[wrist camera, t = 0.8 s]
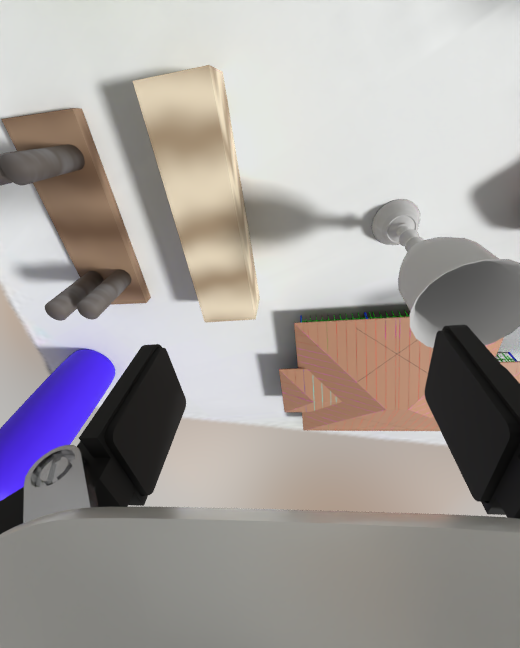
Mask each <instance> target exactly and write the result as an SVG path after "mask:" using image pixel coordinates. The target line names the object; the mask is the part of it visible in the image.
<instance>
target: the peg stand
mask: <svg viewBox="0 0 520 648" xmlns="http://www.w3.org/2000/svg"><path fill="white" fill-rule="evenodd" d="M1 120H2V122H3V124H4V126H5V128H6V130H7V132H8V134H9V136H10V138H11V140H12V142H13V144H14V146H15V148H16V150H17V151H16V152H9V153H2V154H0V185H4V184H8V183H12V182H14V183H15V184H18V185H26V184H30V183H33V184H34V186H35V188H36V190H37V192H38V194H39V196H40V198H41V200H42V202H43V204H44V206H45V208H46V210H47V212H48V214H49V216H50V218H51V220H52V222H53V224H54V226H55V228H56V230H57V232H58V234H59V236H60V238H61V240H62V242H63V244H64V246H65V248H66V250H67V252H68V254H69V256H70V258H71V260H72V262H73V264H74V266H75V268H76V270H77V272H78V274H79V276H80V278H79V279H78V280H77V281H76V282H74V283H73V284H72V285H70V286H69V287H68V288H66V289H65V290H64V291H63V292H61V293H60V294H59V295H57V296H56V297H55V298H54V299H52V300H51V301H50V302H48V303H47V304H46V305H45V310H46V312H47V314H48V315H49V316H50V317H52V318H54V319H56V320H65V319H66V318H67V317H68V316H69V315H70V314H71V313H72V312H74V311H75V310H76V309H78V311H79V313H80V314H81V315H82V316H84V317H86V318H88V319H96V318H97V317H98V316H99V315H100V314H101V313H102V312H103V311H104V310H105V309H106V308H107V307H108V306H109V305H110V304H132V303H147V302H148V300H149V299H150V298H151V297H150V294H149V291H148V288H147V286H146V283H145V280H144V278H143V275H142V272H141V269H140V267H139V264H138V261H137V258H136V256H135V253H134V250H133V247H132V245H131V242H130V239H129V237H128V234H127V231H126V228H125V226H124V223H123V220H122V217H121V215H120V212H119V209H118V206H117V204H116V201H115V198H114V196H113V193H112V190H111V187H110V185H109V182H108V179H107V176H106V174H105V171H104V168H103V165H102V163H101V160H100V157H99V155H98V152H97V149H96V146H95V144H94V141H93V138H92V135H91V133H90V130H89V127H88V124H87V122H86V119H85V116H84V114H83V111H82V109H79V108H72V109H66V110H59V111H52V112H46V113H39V114H33V115H26V116H19V117H13V118H6V119H1Z"/></svg>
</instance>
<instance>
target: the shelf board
mask: <svg viewBox="0 0 520 648" xmlns="http://www.w3.org/2000/svg"><path fill="white" fill-rule="evenodd" d="M133 84H134V88H135V91H136V94H137V98H138V101H139V104H140V108H141V111H142V114H143V118H144V121H145V124H146V128H147V131H148V134H149V138H150V141H151V144H152V148H153V151H154V154H155V158H156V161H157V164H158V168H159V171H160V174H161V178H162V181H163V184H164V188H165V191H166V194H167V198H168V201H169V204H170V208H171V211H172V214H173V218H174V221H175V224H176V228H177V231H178V234H179V238H180V241H181V244H182V248H183V251H184V254H185V258H186V261H187V264H188V268H189V271H190V274H191V278H192V281H193V284H194V288H195V291H196V294H197V298H198V301H199V304H200V308H201V311H202V314H203V318H204V321H205V322H219V321H235V320H252V319H256V314H257V309H258V304H259V299H260V297H259V290H258V284H257V278H256V272H255V266H254V260H253V254H252V248H251V242H250V236H249V230H248V224H247V217H246V211H245V205H244V199H243V193H242V187H241V181H240V175H239V169H238V163H237V157H236V151H235V144H234V138H233V132H232V126H231V120H230V114H229V108H228V102H227V96H226V90H225V84H224V77H223V72H222V71H220V70H218V69H216V68H214V67H212V66H210V65H207V66H202V67H197V68H192V69H188V70H183V71H178V72H173V73H168V74H164V75H159V76H154V77H149V78H144V79H140V80H135V81H133Z"/></svg>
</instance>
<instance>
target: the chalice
mask: <svg viewBox="0 0 520 648" xmlns="http://www.w3.org/2000/svg"><path fill="white" fill-rule="evenodd" d="M419 222H420V212H419V209H418V207H417V206H416V205H415V204H414V203H413V202H411V201H409V200H405V199H398V200H394V201H390V202H389V203H387V204H385V205H384V206H383V207H382V208H381V209H380V210H379V211H378V212H377V213H376V215H375V217H374V219H373V223H372V232H373V234H374V236H375V238H376V239H377V240H378V241H379V242H381V243H384V244H387V245H399V244H401V245H402V246H405V249H406V251H408V252H407V254H406V256H405V258H404V259H403V262H402V265H401V267H400V272H399V278H398V287H399V291H400V293H401V295H402V297H403V299H404V301H405V303H406V304H407V306H408V308H409V310H410V311H411V312H410V328H411V330H412V332H413V334H414V336H415V338H416V339H418V340H419V341H420V342H422V343H423V344H424V345H426V346H428V347H431V348H433V347H434V343H435V338H436V334H437V332H438V331H441V330H442V329H443V327H444V326H449V325H467V326H468V327H469V328H470V329H471V330H472V332H473V333H474V334H475V335H476V336H477V337H478V338H479V340H480V341H481V342H482V343H483V344H484V345H488V344H491V343H494V342H496V341H498V340H499V339H501V338H503V337H505V336H507V335H509V334H510V333H512V332H513V331H514V330H516V329H517V328H518V327H519V326H520V263H518V262H515V261H512V260H509V259H499V258H497V257H496V256H494V255H493V254H492V253H490V252H489V251H488V250H486V249H485V248H484V247H482V246H481V245H480V244H478V243H477V242H474V241H471V240H468V239H465V238H452V237H437V238H433V239H428V240H424V239H423V238H421V237H419V234H418V232H417V230H418V227H419Z"/></svg>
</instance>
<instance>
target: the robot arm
mask: <svg viewBox="0 0 520 648" xmlns="http://www.w3.org/2000/svg"><path fill="white" fill-rule="evenodd" d="M425 399H426V401H427V404H428V406H429V408H430V410H431V412H432V414H433V416H434V418H435V420H436V422H437V424H438V426H439V428H440V430H441V432H442V434H443V436H444V439H445V441H446V443H447V445H448V447H449V449H450V451H451V453H452V455H453V457H454V459H455V461H456V463H457V465H458V467H459V469H460V471H461V474H462V476H463V478H464V480H465V482H466V484H467V486H468V488H469V490H470V492H471V494H472V496H473V498H474V499H475V500H477V501H481V502H482V504H483V506H484V508H485V510H486V512H487V514H501V515H502V514H503V515H506V516H507V518H505V517H488V516H466V515H445V514H418V513H415V514H414V513H385V512H353V511H352V512H350V511H317V510H315V511H314V510H276V509H238V508H189V507H127V506H128V505H144V504H145V501H146V499H147V496H148V495H150V494H152V492H153V490H154V488H155V486H156V483H157V480H158V478H159V475H160V472H161V470H162V467H163V465H164V462H165V459H166V457H167V454H168V452H169V449H170V446H171V444H172V441H173V439H174V436H175V433H176V430H177V428H178V425H179V423H180V420H181V418H182V415H183V413H184V410H185V407H186V399H185V396H184V393H183V391H182V388H181V386H180V383H179V381H178V378H177V376H176V373H175V371H174V368H173V366H172V363H171V361H170V358H169V355H168V353H167V351H166V349H165V348H162V347H161V346H160V345H158V344H156V345H144V346H142V347H141V348H140V350H139V351H138V353H137V354H136V356H135V357H134V359H133V360H132V362H131V363H130V364H129V366H128V367H127V369H126V370H125V372H124V373H123V375H122V376H121V378H120V379H119V380H118V382H117V383H116V385H115V386H114V388H113V389H112V391H111V392H110V394H109V395H108V396H107V398H106V399H105V401H104V402H103V404H102V405H101V407H100V408H99V410H98V411H97V413H96V414H95V416H94V417H93V418H92V420H91V421H90V423H89V424H88V426H87V427H86V429H85V430H84V431H83V433H82V434H81V436H80V437H79V439H80V440H81V441H80V443H79V444H78V446H77V447H76V446H74V445H64V446H60V447H57V448H55V449H53V450H51V451H49V452H48V453H46V454H45V455H43V456H42V457H41V458H40V459H39V460H37V461H36V462H35V463H34V465H33V466H32V467H31V468H30V470H29V471H28V473H27V475H26V477H25V481H24V487H22V488H21V489H19V490H18V491H16V492H14V493H13V494H11V495H9V496H8V497H6V498H5V499H3V500H1V501H0V648H520V383H519V382H518V381H517V380H516V379H515V378H514V376H513V375H512V374H511V373H510V372H509V371H508V370H507V369H506V368H505V367H504V366H502V365H501V364H500V362H499V361H498V360H497V359H496V358H495V357H494V356H493V354H492V353H491V352H490V351H489V350H488V349H487V348H486V346H485V345H484V344H483V343H482V342H481V341H480V340H479V338H478V337H477V336H476V335H475V334H474V333H473V332H472V330H471V329H470V328H469V327H468V326H467V325H449V326H444V327H443V329H442V330H441V331H438V332H437V334H436V338H435V343H434V347H433V352H432V357H431V362H430V366H429V371H428V376H427V381H426V386H425Z"/></svg>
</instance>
